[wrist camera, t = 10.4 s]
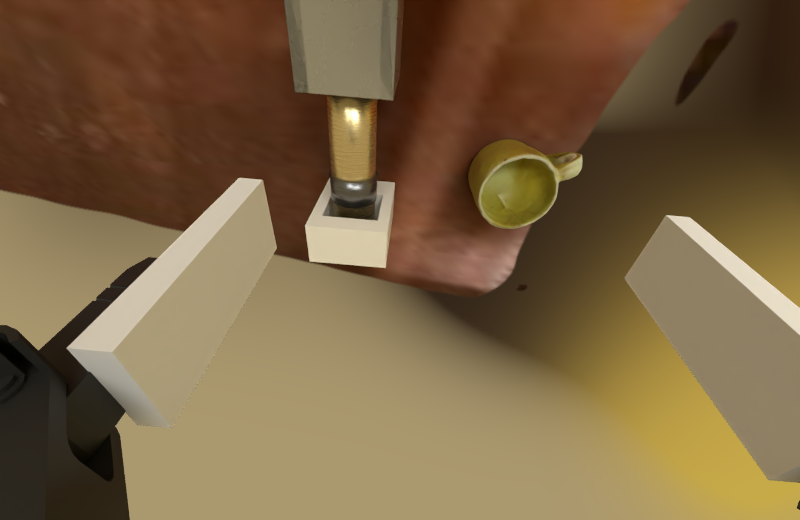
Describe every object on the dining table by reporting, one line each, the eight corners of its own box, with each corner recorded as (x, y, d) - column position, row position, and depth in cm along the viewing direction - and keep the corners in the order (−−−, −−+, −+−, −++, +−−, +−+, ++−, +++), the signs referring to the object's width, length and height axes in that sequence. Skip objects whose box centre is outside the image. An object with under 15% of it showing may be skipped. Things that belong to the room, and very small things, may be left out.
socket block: (330, 176, 46) (304, 225, 36) (395, 182, 46) (387, 232, 36) (332, 208, 49) (309, 261, 39) (393, 213, 49) (385, 267, 39)
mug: (467, 224, 47) (489, 243, 38) (452, 151, 44) (473, 151, 34) (550, 202, 47) (594, 215, 37) (542, 127, 44) (588, 120, 34)
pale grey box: (314, -81, 30) (270, -112, 21) (408, -72, 30) (403, -100, 21) (324, 69, 37) (295, 91, 29) (399, 76, 37) (393, 100, 29)
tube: (328, 55, 33) (315, 64, 29) (382, 60, 33) (377, 69, 29) (337, 205, 43) (328, 228, 39) (378, 209, 44) (373, 232, 39)
